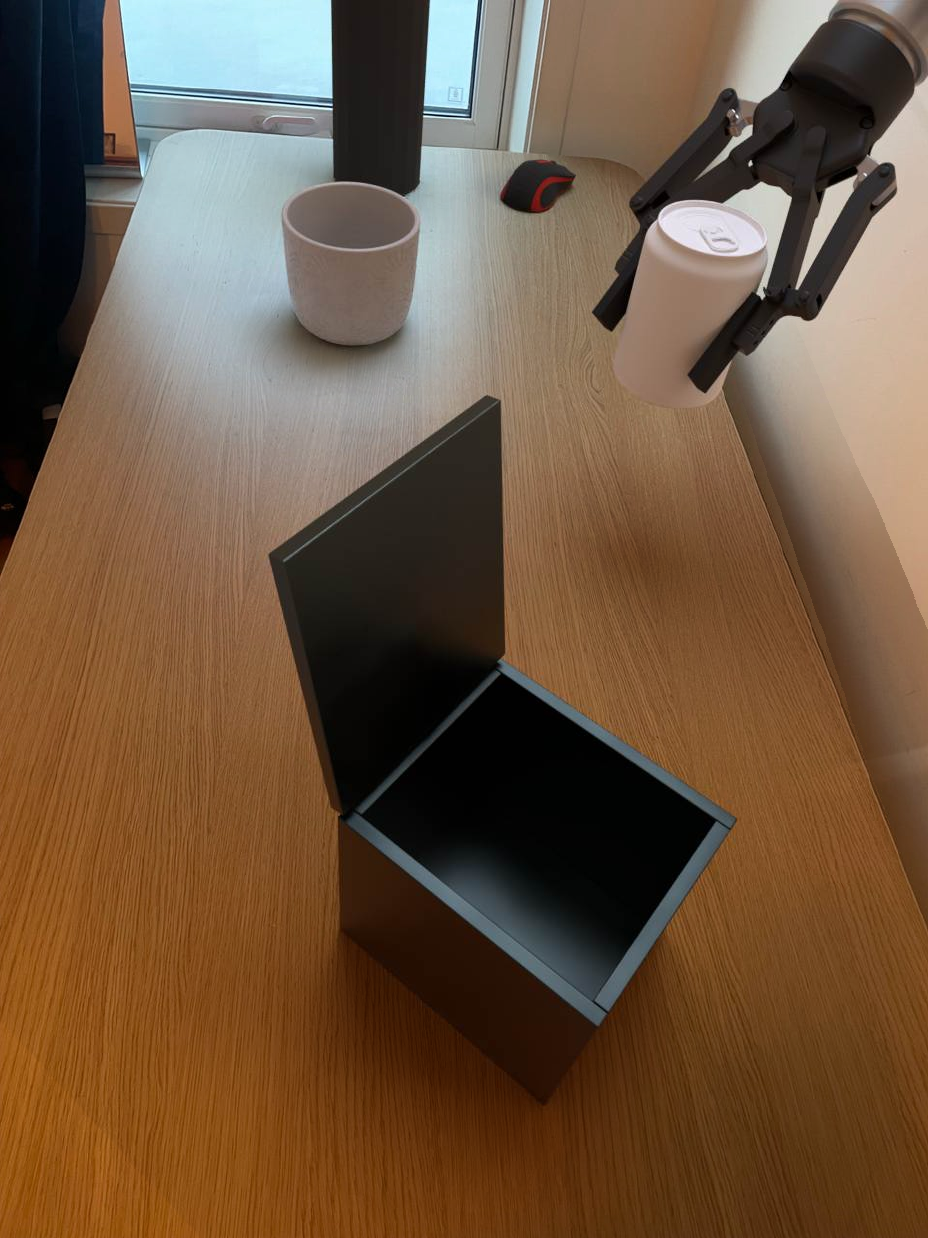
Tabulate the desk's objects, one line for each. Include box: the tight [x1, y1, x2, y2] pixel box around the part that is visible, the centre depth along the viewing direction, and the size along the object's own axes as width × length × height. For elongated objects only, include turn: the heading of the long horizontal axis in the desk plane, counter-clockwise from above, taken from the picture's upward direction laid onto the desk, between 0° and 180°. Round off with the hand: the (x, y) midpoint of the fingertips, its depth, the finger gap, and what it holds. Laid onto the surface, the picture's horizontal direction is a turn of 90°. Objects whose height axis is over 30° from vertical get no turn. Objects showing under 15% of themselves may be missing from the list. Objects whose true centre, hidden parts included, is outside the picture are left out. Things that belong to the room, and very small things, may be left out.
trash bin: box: [337, 658, 738, 1107], centre depth 50 cm, size 15×13×14 cm
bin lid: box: [267, 394, 506, 815], centre depth 41 cm, size 15×13×1 cm
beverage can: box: [612, 200, 769, 410], centre depth 65 cm, size 8×8×12 cm
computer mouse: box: [500, 159, 577, 213], centre depth 111 cm, size 6×11×4 cm, turn 149°
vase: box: [330, 0, 431, 196], centre depth 100 cm, size 10×10×30 cm
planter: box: [280, 181, 421, 346], centre depth 88 cm, size 12×12×11 cm
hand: (647, 352), depth 65 cm, fingers closed on beverage can, 8 cm apart
